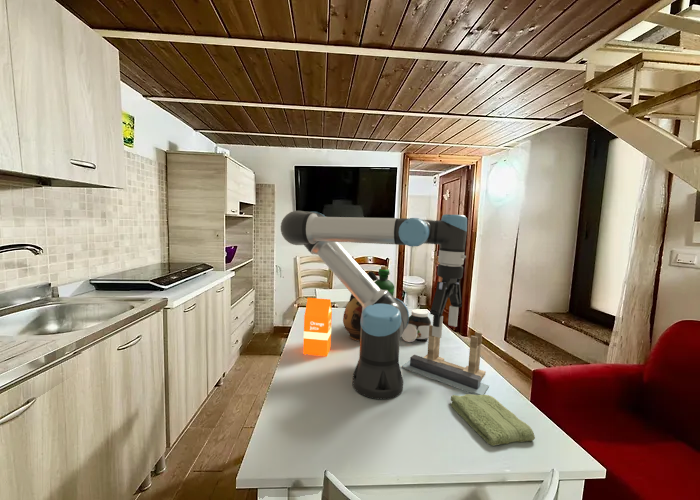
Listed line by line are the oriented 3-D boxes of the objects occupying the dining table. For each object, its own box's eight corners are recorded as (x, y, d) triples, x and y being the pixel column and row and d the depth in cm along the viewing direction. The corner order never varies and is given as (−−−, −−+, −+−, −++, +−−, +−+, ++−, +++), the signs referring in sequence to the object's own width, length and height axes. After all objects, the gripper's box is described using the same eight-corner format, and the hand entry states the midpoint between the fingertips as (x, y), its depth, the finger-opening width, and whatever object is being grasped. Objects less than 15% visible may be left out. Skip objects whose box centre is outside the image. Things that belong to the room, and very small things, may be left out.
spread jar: (430, 336, 133) (432, 310, 131) (430, 346, 122) (432, 318, 121) (402, 332, 136) (404, 307, 135) (400, 342, 125) (401, 314, 124)
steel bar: (477, 389, 89) (478, 380, 89) (409, 365, 103) (410, 357, 102) (480, 385, 92) (481, 376, 91) (413, 362, 105) (414, 354, 105)
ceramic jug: (381, 333, 134) (384, 266, 131) (375, 346, 119) (379, 271, 116) (344, 328, 138) (346, 263, 135) (334, 341, 123) (336, 268, 120)
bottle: (371, 319, 152) (373, 264, 150) (392, 321, 151) (395, 265, 148) (369, 326, 142) (372, 267, 139) (392, 328, 140) (395, 268, 138)
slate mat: (482, 397, 87) (482, 395, 87) (401, 367, 103) (401, 365, 102) (488, 387, 92) (489, 385, 92) (411, 360, 108) (411, 359, 108)
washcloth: (487, 399, 86) (488, 388, 86) (538, 443, 69) (539, 430, 69) (446, 403, 84) (447, 392, 83) (488, 451, 66) (489, 437, 66)
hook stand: (480, 381, 96) (483, 339, 94) (421, 361, 108) (423, 324, 107) (485, 374, 100) (488, 334, 99) (428, 356, 112) (430, 320, 111)
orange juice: (326, 356, 109) (328, 302, 107) (302, 354, 110) (304, 300, 108) (330, 347, 116) (332, 296, 115) (308, 345, 117) (309, 295, 116)
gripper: (447, 270, 82) (441, 345, 84) (474, 263, 102) (469, 324, 104) (422, 266, 87) (416, 338, 89) (452, 260, 106) (447, 319, 108)
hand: (444, 330), depth 96 cm, fingers open, 13 cm apart
